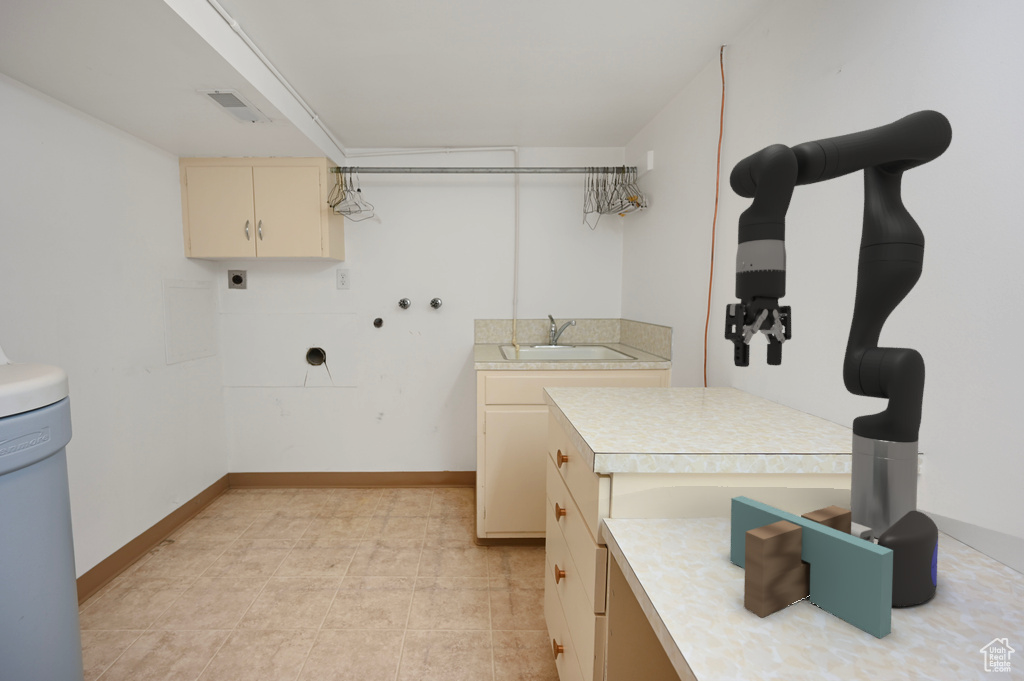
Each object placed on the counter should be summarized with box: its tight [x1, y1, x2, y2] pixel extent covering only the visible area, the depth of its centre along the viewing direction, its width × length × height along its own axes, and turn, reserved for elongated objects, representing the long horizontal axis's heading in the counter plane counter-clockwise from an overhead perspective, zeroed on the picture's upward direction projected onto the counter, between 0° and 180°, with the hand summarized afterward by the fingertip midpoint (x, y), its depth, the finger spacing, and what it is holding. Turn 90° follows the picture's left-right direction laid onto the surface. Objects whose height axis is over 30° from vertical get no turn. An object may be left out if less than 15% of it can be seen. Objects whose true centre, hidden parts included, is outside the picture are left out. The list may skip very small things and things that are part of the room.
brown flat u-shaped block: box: [743, 505, 852, 619], centre depth 63 cm, size 20×2×10 cm, turn 117°
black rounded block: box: [876, 510, 939, 607], centre depth 64 cm, size 16×5×9 cm, turn 127°
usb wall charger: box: [851, 522, 875, 544], centre depth 78 cm, size 4×7×4 cm, turn 25°
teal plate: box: [729, 495, 893, 640], centre depth 63 cm, size 2×20×10 cm, turn 27°
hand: (758, 365), depth 78 cm, fingers open, 8 cm apart
